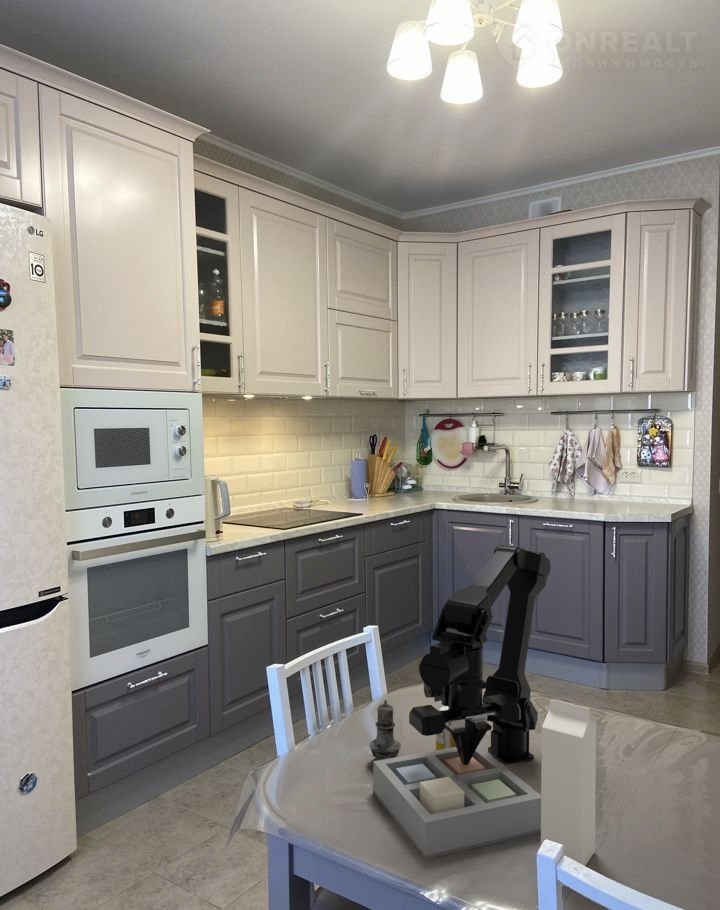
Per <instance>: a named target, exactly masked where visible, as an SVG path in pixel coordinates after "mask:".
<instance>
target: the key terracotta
mask: <svg viewBox="0 0 720 910" xmlns="http://www.w3.org/2000/svg"><path fill="white" fill-rule="evenodd" d="M445 766H446V767H448V768H449V769H450V770H451V771H452V772H453V773H454V774H455V775H460V774H465V773H470V772H476V771H481V770H485V767H484V766H482V765H481V764H480V763H479V762H478V761H476V760H475V759H474V758H473V757H472V758H471V760H470V762H469V764H468V765H464V764H462V762H461V760H460V757H457V758H452V759H446V760H445Z"/></svg>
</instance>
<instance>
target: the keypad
mask: <svg viewBox="0 0 720 910" xmlns="http://www.w3.org/2000/svg"><path fill="white" fill-rule="evenodd" d="M457 757H459V754H458V751H457V748H456V747H453V748H447V749H441V750H436V749H435V750H430V751H424V752H420V753H415V754H408V755H403V756H402V755H401V756H397V757H395V758H389V759H384V760H378V761H373V767H372V774H373V775H372V780H373V781H372V793H373V794H374V796H375V797H376V799H377V800H378V801H379V802H380V804H381V805H382V807H384V809H385V810H386V812H387V813H388V814H389V815H390V816H391V818H392V819H393V820H394V822H395V823H396V824H397V825H398V827H399V828H400V830H402V832H403V833H404V835H405V836H406V837H407V838H408V839H409V840H410V841H409V842H410V843H412V845H413V846H414V848H416V850H417V851H418V852H419V854H420V855H421V856H422V857H423V859H424V860H425V861H427V860H430V859H434V858H439V857H442V856H447V855H452V854H455V853H459V852H460V851H461V852H464V850H465V851H469V850H472V848H474V849H477V848H476V847H478V848H481V847H485V846H484V845H486V846H489V845H488V844H491V845H494V844H493V843H495V844H498V842H499V843H503V842H508V841H511V840H510V839H512V840H515V839H514V838H516V839H519V837H520V838H524V837H523V836H525V837H528V836H533V835H537V834H541V793H539V792H537V791H536V789H535V790H534V788H532V787H531V786H530V785H529V784H527V783H526V782H525V781H524V780H522V779H521V778H520V777H519V776H517V774H515V773H514V772H512V771H511V770H510V769H508V768H507V767H506V766H505V765H504V764H503V763H501V762H500V761H499V760H497V759H496V758H495V756H494V757H493V755H492V754H490V753H488V752H487V751H486V750H485V749H484V748H483V747H481V745H480V744H479V745H478V747H477V749H476V751H475V753H474V754H473V756H472V757H473V758H474V759H475V760H476V761H478V762H479V763H480V764H481V765H482V766H484V767H485V770H481V771H476V772H470V773H465V774H460V775H455V774H454V773H453V772H452V771H451V770H450V769H449V768H448V767H446V766H445V760H446V759H452V758H457ZM418 764H424V765H425V766H426V767H427V768H428V769H429V770H430V771H431V772H432V773H433V774H434V775H435V776H436V779H439V778H444V777H449V778H450V779H452V780H453V781H454V782H455V783H456V784H457V785H458V786H459V787H460V788H461V789H462V790H463V791H464V808H460V809H455V810H450V811H445V812H441V813H436V814H430V813H429V812H428V811H427V810H426V809H425V808H424V806H423V805H422V804H421V803H420V782H418V783H412V784H407V785H404V784H403V783H402V782H401V781H400V779H399V778H398V777H397V776H396V768H401V767H407V766H412V765H418ZM498 779H499V780H500V781H501V782H502V783H504V784H505V785H506V786H507V787H508V788H510V789H511V790H512V791H513V792H514V793H516V797H512V798H507V799H503V800H498V801H493V802H488V803H485V802H484V801H483V800H482V799H481V798H480V797H479V796H477V795H476V794H475V793H474V792H473V791H472V785H473V784H478V783H483V782H488V781H493V780H498ZM433 780H434V779H433ZM507 840H508V841H507ZM502 841H503V842H502ZM480 846H481V847H480ZM468 849H469V850H468Z"/></svg>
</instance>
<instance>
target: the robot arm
mask: <svg viewBox="0 0 720 910" xmlns="http://www.w3.org/2000/svg"><path fill="white" fill-rule="evenodd" d="M551 567H552V566H551V561H550V559H549V558H548V557H547V556H546V553H544V552H543V551H532V550H526V549H525V548H522V547H520V546H517V545H507V544H500V545H497V546H496V547H495V548H494V551H493V555H492V556H491V558H490V559H489V560H488V561H487V563H486V564H485V566H484V567H483V568H482V570H481V571H480V572H479V574H478V575H477V576H476V578H474V580H473V581H472V582H471V584H470V585H469V586H467V587H464V588H462V589H459V590H457V591H456V592H454V593H453V595H451V596H450V597H448V599H447V600H446V601H445V602H444V604H443V606H442V608H441V610H440V614H439V617H438V620H437V623H436V625H435V629H434V632H433V634H432V640H433V641H436V642H438V643H434V644H431V645H430V646H429V653H427V654H425V655H423V657H422V659H420V663H419V665H418V670H419V671H418V672H419V676H420V678H421V680H422V682H423V693H424V696H425V698H428V699H429V698H430V699H431V698H433V701H434V703H437V702H440V701H441V705H442V706H448V710H443V711H440V710H438V709H437V708H436V707H434V706H433V705H432V704H427V705H420V706H413V707H412V708H411V710H410V711H409V714H408V723H409V724H410V725H411V726H412V727H413V728H414V730H416V731H417V732H418V733H419V734H420V735H422V736H426V737H429V736H434V735H435V736H436V734H441V733H442V732H443V730H444V729H447V730H448V731H449V732H450V733H451V735H452V737H453V739H454V742H455V745H456V748H457V751H458V754H459V757H460V760H461V762H462V764H464V765H468V764H469V762H470V760H471V758H472V756H473V754H474V753H475V751H476V749H477V747H478V745H479V746H480V743H481V742H482V740H483V738H484V737H485V735H486V734H487V732H488V731H490V746H488V748H487V750H488V752H490V753H491V755H492V756H493V755H494V757H496V758H497V759H499V760H500V761H501V762H502V764H503V763H504V764H506V765H508V764H515V763H518V762H525V761H530V760H534V759H535V755H534V754H532V752H530V731H535V730H536V729H537V727H536V726H537V724H538V723H537V722H538V719H539V718H538V715H539V712H538V711H537V709H536V707H535V706H534V704H533V703H532V700H531V692H532V691H531V687H530V685H529V682H528V680H527V677H526V675H525V671H526V665H527V664H526V663H527V655H528V651H529V643H530V642H529V641H530V635H531V628H532V622H533V614H534V607H535V601H536V598H537V596H538V595H539V594H540V593H541V591H542V590H543V589H544V588H545V587H546V584H547V581H548V576H549V575H550V573H551ZM506 586H507V588H508V591H509V598H508V606H507V611H506V612H507V613H506V618H505V625H504V632H503V638H502V643H501V645H502V646H501V652H500V658H499V663H498V669H496V670H495V672H494V673H493V674H492V675H490V674H489V675H488V676H487V678H486V681H485V680H483V679H484V678H483V671H484V670H483V669H484V668H483V661H484V660H483V659H484V657H483V655H484V654H483V651H484V649H483V646H484V643H486V642H487V641H488V637H487V636H486V634H487V631H488V629H489V627H490V625H491V623H492V620H493V611H492V607H493V605H494V603H495V602H496V600H497V599H498V598H499V596H500V594H501V593H502V592H503V590H504V589H505V587H506ZM447 630H448V631H447ZM455 632H456V633H455ZM484 689H485V690H484ZM483 690H484V692H483ZM488 722H491V723H492V725H491V724H489V723H488Z"/></svg>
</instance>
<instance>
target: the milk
mask: <svg viewBox="0 0 720 910" xmlns="http://www.w3.org/2000/svg"><path fill="white" fill-rule="evenodd" d="M548 704H549V705H548V706H549V707H548V708H549V710H548V711H547V713H546V716H545V718H544V721H543V723H542V725H541V766H540V767H541V770H540V772H541V779H540V780H541V781H540V782H541V785H540V788H541V790H540V791H541V792H540V795H541V833H540V844H541V843H542V842H543V841H544V840H546V839H548V840H551V841H554V842H557V843H561V844H563V845H564V854H565V855H566V856H568V857H570V858H572V859H574V860H576V861H578V862H579V863H581V864H583V865H585V866H587V864H588V863H589V861H590V860H591V858H592V857H593V855H594V854H595V852H596V793H597V792H596V791H597V790H596V782H597V779H596V777H597V776H596V775H597V773H596V770H597V723H595V722H594V721H593V720H592V719H591V710H590V708H589V707H587V706H581V705H577V704H574V703H573V704H572V703H569V702H565V701H561V700H555V699H550V700H549V703H548Z"/></svg>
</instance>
